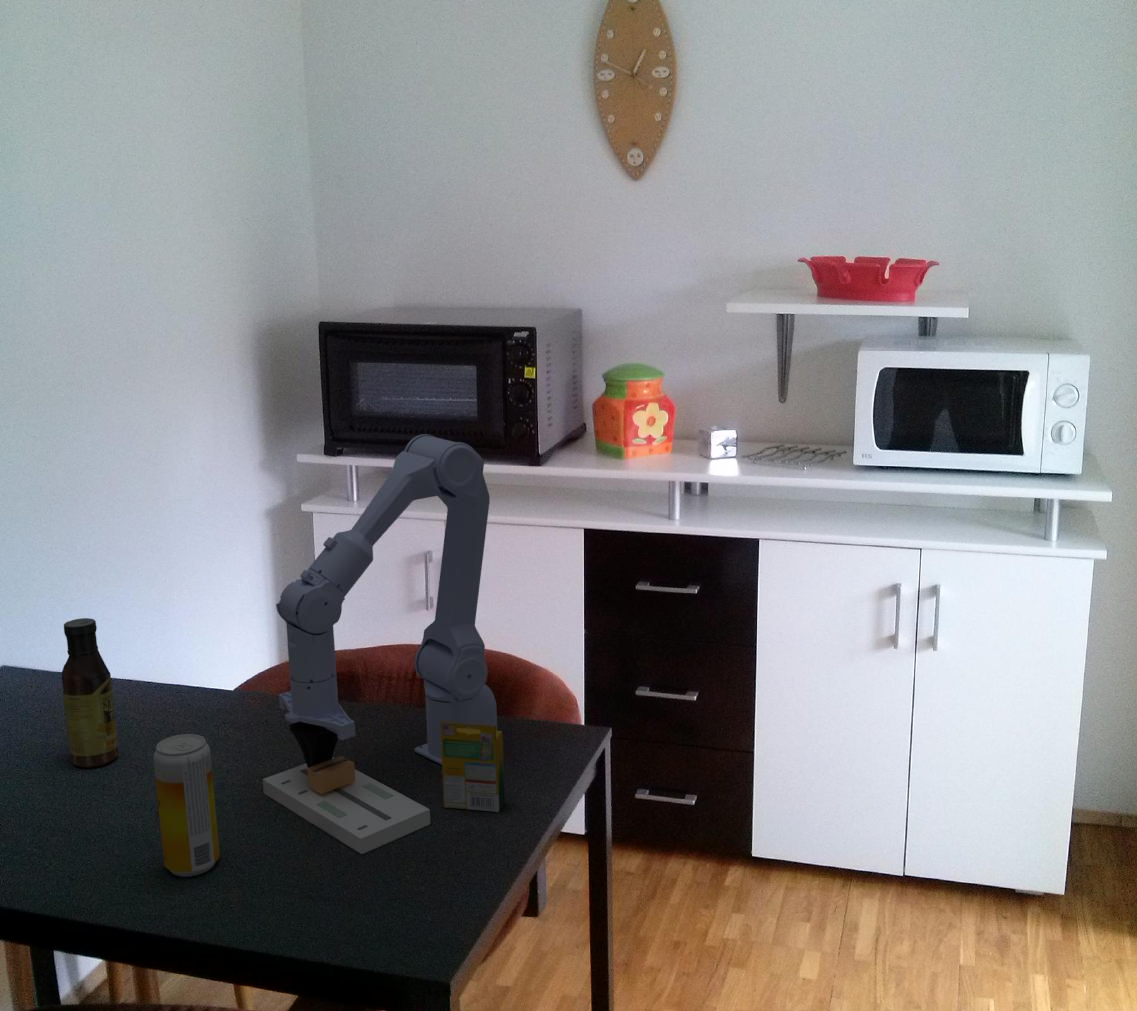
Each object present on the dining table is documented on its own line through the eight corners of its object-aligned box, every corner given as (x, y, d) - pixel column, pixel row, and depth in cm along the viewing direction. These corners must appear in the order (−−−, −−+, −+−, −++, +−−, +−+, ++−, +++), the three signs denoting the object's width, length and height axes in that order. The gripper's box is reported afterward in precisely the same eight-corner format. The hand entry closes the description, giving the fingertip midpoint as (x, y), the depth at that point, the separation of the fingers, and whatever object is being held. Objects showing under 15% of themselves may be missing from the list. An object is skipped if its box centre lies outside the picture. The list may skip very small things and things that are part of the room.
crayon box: (505, 802, 150) (503, 716, 148) (499, 813, 147) (496, 726, 145) (450, 797, 152) (446, 712, 149) (443, 808, 149) (439, 721, 146)
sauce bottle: (120, 765, 162) (105, 626, 158) (70, 773, 160) (54, 633, 156) (118, 746, 168) (104, 612, 164) (71, 754, 166) (55, 618, 162)
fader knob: (342, 773, 153) (341, 754, 153) (355, 780, 151) (354, 762, 151) (308, 786, 150) (306, 767, 149) (321, 794, 148) (320, 774, 147)
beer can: (200, 846, 141) (189, 728, 137) (230, 862, 137) (220, 741, 133) (154, 867, 136) (141, 745, 133) (184, 885, 132) (172, 760, 129)
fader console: (329, 768, 160) (328, 754, 160) (430, 824, 145) (429, 808, 144) (263, 793, 154) (262, 778, 153) (361, 854, 138) (360, 837, 138)
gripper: (255, 668, 152) (263, 767, 155) (317, 699, 141) (324, 803, 145) (303, 654, 156) (309, 750, 159) (366, 683, 146) (372, 784, 149)
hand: (320, 774), depth 152 cm, fingers closed
